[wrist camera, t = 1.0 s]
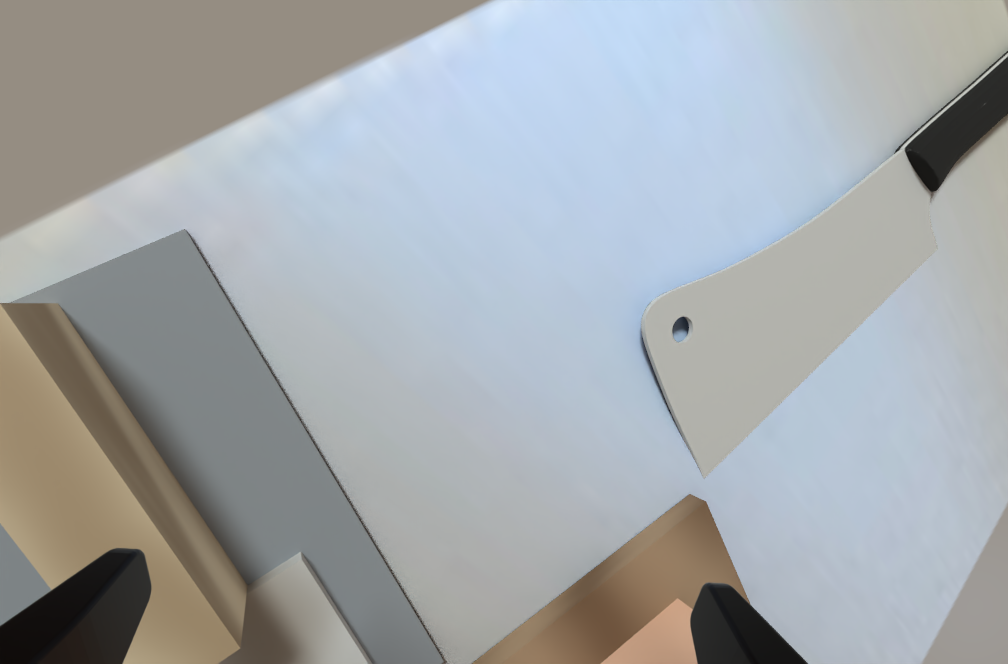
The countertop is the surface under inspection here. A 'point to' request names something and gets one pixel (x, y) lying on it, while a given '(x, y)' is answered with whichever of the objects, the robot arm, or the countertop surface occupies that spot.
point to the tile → (660, 640)
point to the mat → (223, 440)
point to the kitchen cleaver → (807, 285)
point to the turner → (136, 513)
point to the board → (625, 592)
